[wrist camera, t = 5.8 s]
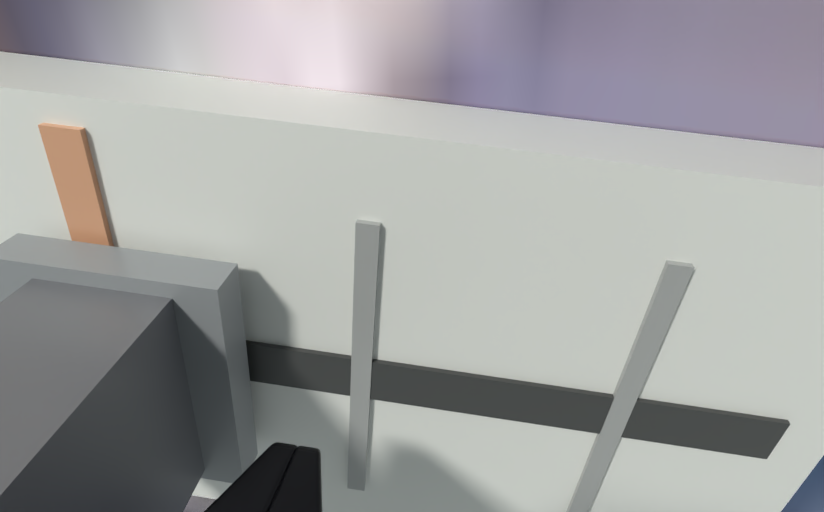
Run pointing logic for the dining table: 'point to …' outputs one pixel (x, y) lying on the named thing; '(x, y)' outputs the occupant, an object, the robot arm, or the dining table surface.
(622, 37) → the dining table surface
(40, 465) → the fader slider
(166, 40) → the dining table surface
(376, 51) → the dining table surface
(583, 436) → the fader console
